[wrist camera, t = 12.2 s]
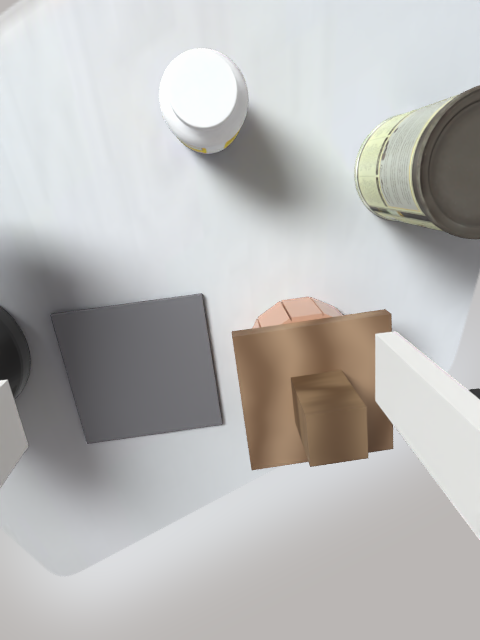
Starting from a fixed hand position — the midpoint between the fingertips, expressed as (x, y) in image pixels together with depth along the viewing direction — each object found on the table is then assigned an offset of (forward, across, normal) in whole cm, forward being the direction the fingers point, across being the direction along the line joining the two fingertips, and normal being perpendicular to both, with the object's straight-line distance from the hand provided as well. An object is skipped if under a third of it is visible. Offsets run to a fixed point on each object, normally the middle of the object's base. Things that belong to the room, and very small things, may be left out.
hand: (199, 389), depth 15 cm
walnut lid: (+24, +9, -14) cm, 30 cm away
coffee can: (+30, +21, +6) cm, 37 cm away
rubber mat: (+30, -9, -13) cm, 34 cm away
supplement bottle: (+31, +2, +13) cm, 33 cm away
